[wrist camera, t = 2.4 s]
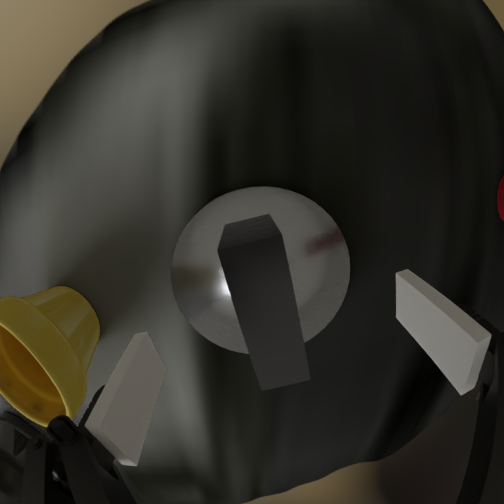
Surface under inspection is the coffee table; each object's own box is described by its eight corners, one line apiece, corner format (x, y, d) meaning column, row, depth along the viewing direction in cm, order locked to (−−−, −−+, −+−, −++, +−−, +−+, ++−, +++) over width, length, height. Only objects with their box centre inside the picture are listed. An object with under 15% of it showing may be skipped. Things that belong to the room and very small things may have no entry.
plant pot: (27, 254, 19) (-44, 296, 10) (116, 277, 20) (50, 346, 11) (41, 344, 22) (-6, 398, 13) (121, 372, 23) (86, 447, 14)
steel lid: (205, 358, 23) (195, 420, 16) (152, 212, 19) (108, 236, 12) (351, 323, 22) (385, 376, 15) (329, 168, 18) (374, 169, 12)
